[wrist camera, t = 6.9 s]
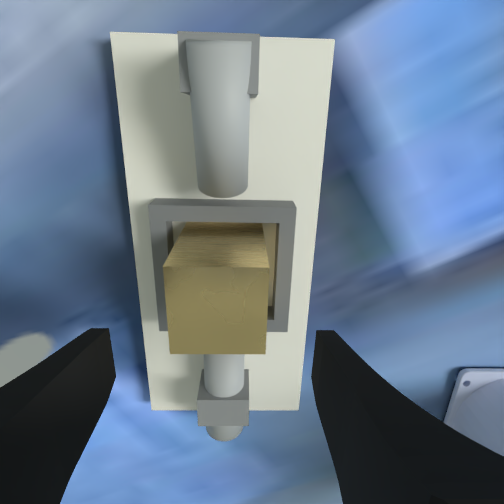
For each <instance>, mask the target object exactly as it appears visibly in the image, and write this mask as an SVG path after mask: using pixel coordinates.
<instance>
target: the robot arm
mask: <svg viewBox="0 0 504 504" xmlns="http://www.w3.org/2000/svg"><path fill="white" fill-rule="evenodd" d="M115 378H116V373H115V366H114V359H113V353H112V346H111V340H110V333H109V328H91V329H89V330H87V331H86V332H84V333H83V334H81V335H80V336H78V337H77V338H75V339H74V340H72V341H71V342H69V343H68V344H67V345H65V346H64V347H62V348H61V349H59V350H58V351H56V352H55V353H53V354H52V355H51V356H49V357H48V358H46V359H45V360H43V361H42V362H40V363H39V364H37V365H36V366H34V367H32V368H31V369H29V370H28V371H26V372H25V373H23V374H21V375H20V376H18V377H17V378H15V379H13V380H12V381H10V382H9V383H7V384H5V385H4V386H2V387H0V504H60V502H61V499H62V497H63V494H64V492H65V489H66V487H67V484H68V482H69V480H70V477H71V475H72V473H73V471H74V469H75V467H76V465H77V463H78V461H79V459H80V457H81V455H82V453H83V451H84V449H85V447H86V445H87V443H88V441H89V439H90V437H91V435H92V433H93V431H94V429H95V427H96V424H97V422H98V420H99V418H100V416H101V414H102V412H103V410H104V408H105V406H106V404H107V401H108V398H109V396H110V393H111V390H112V387H113V384H114V381H115ZM311 378H312V384H313V390H314V396H315V401H316V406H317V410H318V413H319V416H320V420H321V423H322V427H323V430H324V433H325V437H326V440H327V443H328V446H329V450H330V453H331V456H332V460H333V463H334V466H335V470H336V474H337V478H338V482H339V486H340V491H341V496H342V501H343V504H504V369H494V368H467V369H463V370H461V371H460V372H459V374H458V377H457V380H456V384H455V387H454V390H453V393H452V397H451V400H450V403H449V406H448V410H447V413H446V416H445V419H444V422H442V421H440V420H439V419H437V418H435V417H434V416H432V415H431V414H429V413H428V412H426V411H425V410H423V409H422V408H421V407H419V406H418V405H416V404H415V403H414V402H412V401H411V400H410V399H408V398H407V397H406V396H404V395H403V394H402V393H400V392H399V391H398V390H397V389H395V388H394V387H393V386H392V385H391V384H389V383H388V382H387V381H386V380H385V379H383V378H382V377H381V376H380V375H379V374H378V373H377V372H375V371H374V370H373V369H372V368H371V367H370V366H369V365H368V364H367V363H366V362H365V361H364V360H363V359H362V358H361V357H360V356H359V355H358V354H357V353H356V352H355V351H354V350H353V349H352V348H351V347H350V346H349V345H348V344H347V343H346V342H345V341H344V340H343V339H342V338H341V337H340V336H339V335H338V334H337V333H336V332H335V331H334V330H317V331H316V340H315V349H314V358H313V367H312V376H311Z"/></svg>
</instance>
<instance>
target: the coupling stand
mask: <svg viewBox="0 0 504 504" xmlns="http://www.w3.org/2000/svg"><path fill="white" fill-rule="evenodd" d="M110 37H111V46H112V55H113V64H114V73H115V82H116V91H117V100H118V110H119V119H120V128H121V137H122V146H123V155H124V164H125V173H126V182H127V191H128V200H129V209H130V218H131V227H132V236H133V245H134V254H135V264H136V273H137V282H138V291H139V300H140V309H141V318H142V327H143V336H144V345H145V354H146V363H147V372H148V381H149V390H150V399H151V408H152V410H197V414H198V426H206V430H207V432H208V434H209V435H210V436H211V437H212V438H213V439H215V440H218V441H230V440H232V439H234V438H236V437H237V436H238V435H239V434H240V433H241V431H242V429H243V426H249V410H299V401H300V390H301V380H302V370H303V360H304V349H305V339H306V329H307V319H308V309H309V298H310V288H311V278H312V268H313V258H314V247H315V237H316V227H317V217H318V207H319V196H320V186H321V176H322V166H323V155H324V145H325V135H326V125H327V115H328V104H329V94H330V84H331V74H332V64H333V53H334V43H335V39H311V38H281V37H260V34H245V33H215V32H185V31H177V34H159V33H129V32H110ZM186 222H237V223H262V226H263V232H264V238H265V244H266V250H267V256H268V262H269V267H270V268H269V291H268V313H267V335H266V354H170V350H169V337H168V325H167V313H166V300H165V288H164V275H163V265H164V263H165V261H166V260H167V258H168V256H169V254H170V252H171V250H172V248H173V246H174V245H175V243H176V241H177V239H178V237H179V235H180V233H181V231H182V230H183V228H184V226H185V224H186Z"/></svg>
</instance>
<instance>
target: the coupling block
mask: <svg viewBox="0 0 504 504" xmlns="http://www.w3.org/2000/svg"><path fill="white" fill-rule="evenodd" d="M269 268H270V267H269V262H268V256H267V250H266V244H265V238H264V232H263V226H262V223H237V222H186V224H185V226H184V228H183V230H182V231H181V233H180V235H179V237H178V239H177V241H176V243H175V245H174V246H173V248H172V250H171V252H170V254H169V256H168V258H167V260H166V261H165V263H164V265H163V275H164V288H165V300H166V313H167V325H168V337H169V350H170V354H266V335H267V313H268V291H269Z"/></svg>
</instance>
